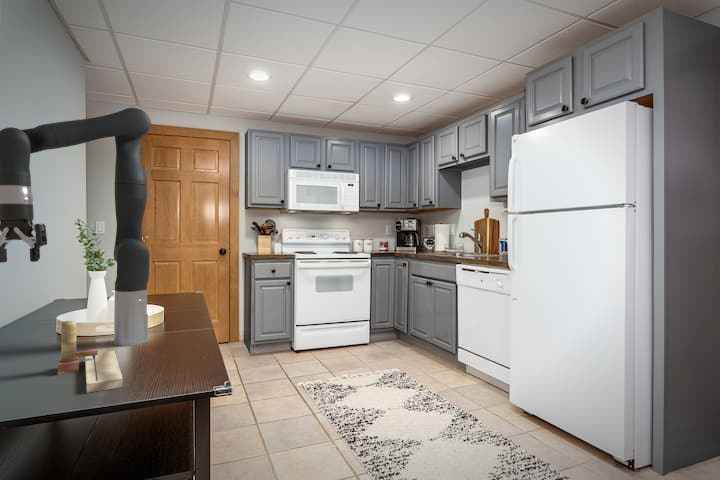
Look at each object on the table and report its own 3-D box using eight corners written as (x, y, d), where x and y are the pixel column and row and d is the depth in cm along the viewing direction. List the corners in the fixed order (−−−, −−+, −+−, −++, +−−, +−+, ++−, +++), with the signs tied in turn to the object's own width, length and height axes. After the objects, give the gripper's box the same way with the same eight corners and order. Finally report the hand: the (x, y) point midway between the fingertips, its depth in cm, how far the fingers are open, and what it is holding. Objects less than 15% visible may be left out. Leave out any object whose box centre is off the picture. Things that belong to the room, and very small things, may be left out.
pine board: (114, 357, 119) (114, 350, 119) (122, 387, 97) (122, 378, 97) (85, 361, 115) (85, 354, 115) (86, 392, 93) (86, 383, 93)
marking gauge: (96, 363, 114) (97, 317, 114) (97, 369, 109) (98, 321, 109) (58, 368, 109) (59, 320, 109) (57, 375, 104) (58, 325, 104)
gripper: (51, 203, 118) (54, 260, 119) (0, 204, 117) (3, 261, 118) (32, 201, 110) (34, 262, 111) (-24, 202, 110) (-21, 263, 111)
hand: (18, 261), depth 115 cm, fingers open, 8 cm apart
